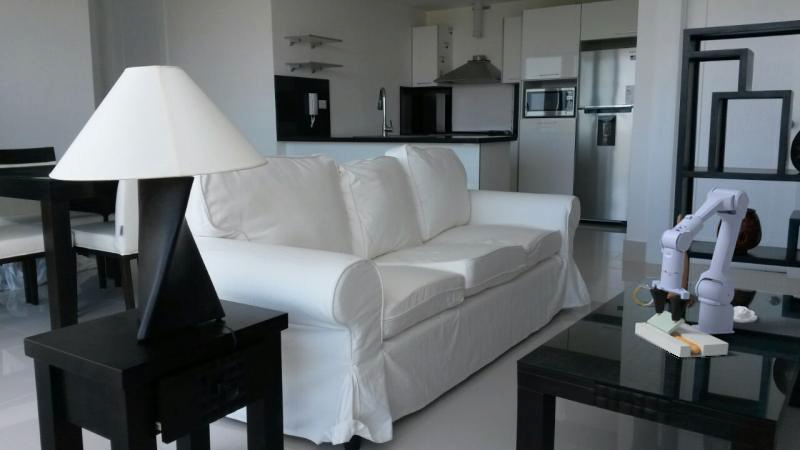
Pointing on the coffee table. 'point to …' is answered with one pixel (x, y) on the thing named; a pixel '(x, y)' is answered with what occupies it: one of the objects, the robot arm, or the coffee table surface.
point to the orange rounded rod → (694, 348)
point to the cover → (665, 322)
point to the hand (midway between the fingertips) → (667, 316)
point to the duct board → (676, 346)
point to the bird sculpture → (684, 272)
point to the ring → (639, 289)
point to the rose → (744, 315)
